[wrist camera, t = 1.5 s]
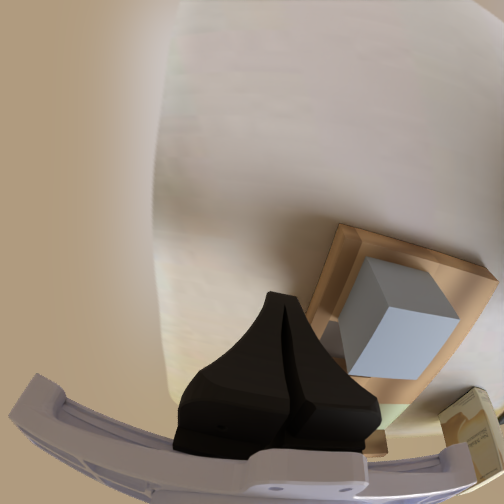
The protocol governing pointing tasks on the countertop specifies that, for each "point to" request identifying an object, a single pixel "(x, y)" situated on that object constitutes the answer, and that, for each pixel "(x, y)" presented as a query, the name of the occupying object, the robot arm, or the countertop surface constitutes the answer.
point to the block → (394, 321)
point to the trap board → (406, 254)
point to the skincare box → (476, 434)
